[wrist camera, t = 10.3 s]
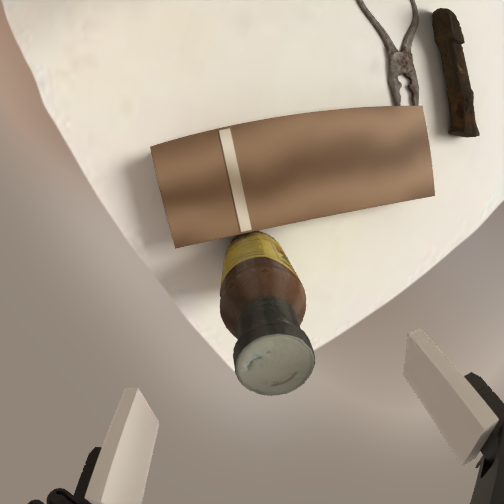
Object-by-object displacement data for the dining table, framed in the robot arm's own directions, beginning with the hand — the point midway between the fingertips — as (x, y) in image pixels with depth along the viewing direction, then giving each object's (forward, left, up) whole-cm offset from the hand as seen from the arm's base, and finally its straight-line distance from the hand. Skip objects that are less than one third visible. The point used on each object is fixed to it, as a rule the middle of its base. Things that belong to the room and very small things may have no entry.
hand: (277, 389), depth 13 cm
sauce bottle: (0, 0, -21) cm, 21 cm away
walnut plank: (-8, +7, -21) cm, 24 cm away
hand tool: (-19, +30, -22) cm, 41 cm away
